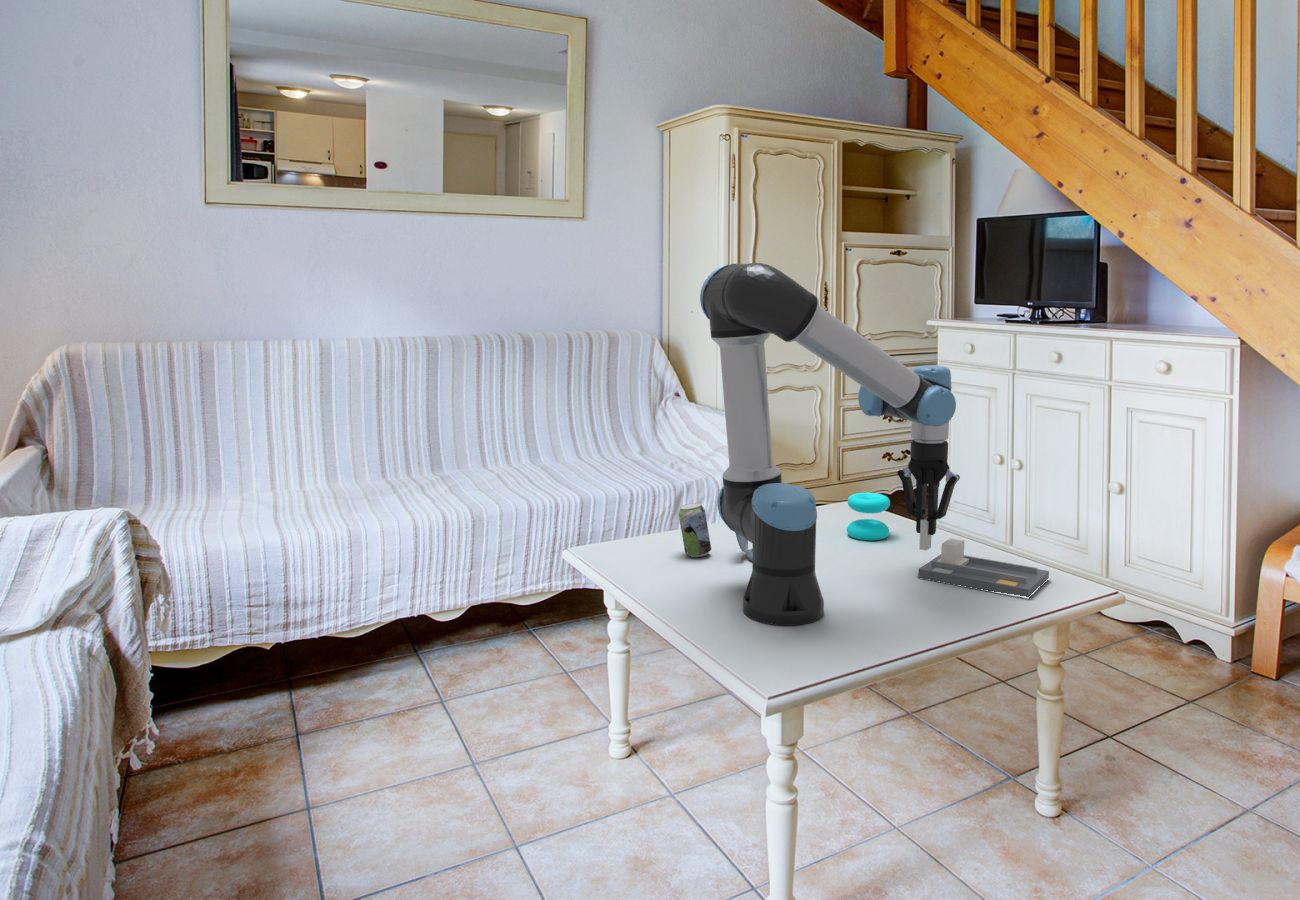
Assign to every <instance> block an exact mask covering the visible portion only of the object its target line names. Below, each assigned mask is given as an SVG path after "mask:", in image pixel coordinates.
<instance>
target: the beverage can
mask: <svg viewBox="0 0 1300 900" xmlns="http://www.w3.org/2000/svg"><path fill="white" fill-rule="evenodd" d="M678 519H679V520H678V521H679V524H680V530H681V537H682V541H683V547H684V553H685V555H687V556H689V557H690V556H691V558H700V557H704V556H707V555H708V554H709V553H710V552H711V551H712V545H711V540H710V533H709V527H708V520H707V514H706V509H705V507H704V506H702V503H700V502H693V503H687V504H683V505H681V506H680V507H679V511H678Z"/></svg>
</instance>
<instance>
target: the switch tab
mask: <svg viewBox="0 0 1300 900" xmlns="http://www.w3.org/2000/svg"><path fill="white" fill-rule="evenodd" d="M940 549H941V553H940V554H941V558H940V559H939V560H937V561H940V562H945V563H951V564H956V565H962V566H965V565H966V564H968V563H969V559H966V558H964V555H965V540H962V539H957V538H952V537H950V538H949V539H946V540H945V541H943V542H942V543H941V548H940Z"/></svg>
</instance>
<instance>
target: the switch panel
mask: <svg viewBox="0 0 1300 900" xmlns="http://www.w3.org/2000/svg"><path fill="white" fill-rule="evenodd" d="M940 558H941V553H940V554H939V555H938V556H936V557H934V558H933V559H932V560H930V561H929V562H926V563H925V564H923V565H922V566H921V567H919V568H918V573H917V578H918V579H920V578H923V579H922V580H925V579H930V580H934V581H933V582H936V581H940V582H939V583H941V582H945V583H944V584H946V583H950V584H949V585H951V584H955V585H954V586H956V585H961V586H966V587H972V588H977V589H983V590H988V591H994V592H1001V593H1007V594H1014V595H1020V596H1026V597H1029V596H1030V595H1031V594H1032V593H1033V592H1034V591H1035V590H1036V589H1037V588H1038V587H1039V586H1041V585H1042V584H1043V583H1044V582H1045V581H1046V580H1047V579H1048V578H1049V577H1050V570H1046V569H1039V568H1038V567H1033V566H1028V565H1024V564H1016V563H1011V562H1007V561H999V560H996V559H995V560H994V559H987V558H983V557H976V556H972V555H971V556H970V555H965V554H964V558H966V559H969V563H968V564H966V565H965V566H962V565H956V564H951V563H945V562H940V561H937V560H939V559H940ZM930 580H929V581H930ZM961 586H960V587H961ZM966 587H965V588H966ZM977 589H976V590H977Z"/></svg>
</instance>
